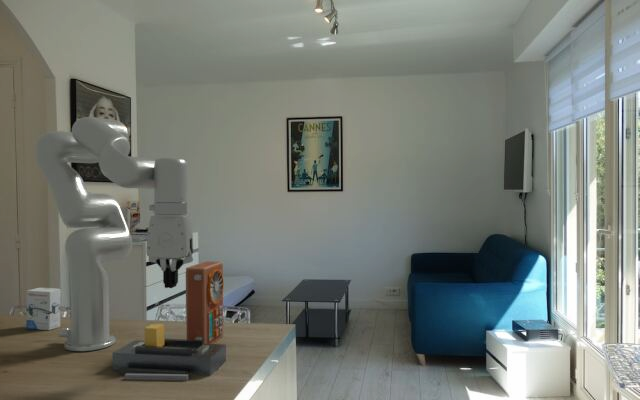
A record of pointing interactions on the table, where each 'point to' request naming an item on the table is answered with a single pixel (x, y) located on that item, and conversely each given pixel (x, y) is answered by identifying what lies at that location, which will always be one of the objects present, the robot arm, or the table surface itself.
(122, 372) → the dark grey long bar
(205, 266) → the control panel
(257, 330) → the table surface
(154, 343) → the yellow block
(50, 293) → the ink box
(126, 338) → the table surface
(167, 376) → the grey square bar
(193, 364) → the slider track
